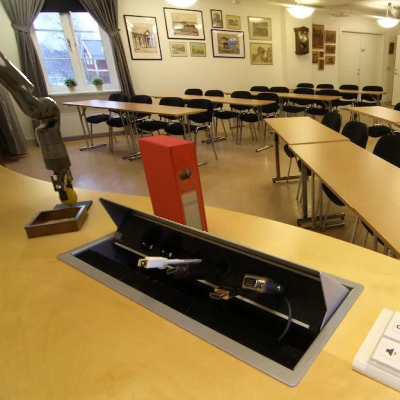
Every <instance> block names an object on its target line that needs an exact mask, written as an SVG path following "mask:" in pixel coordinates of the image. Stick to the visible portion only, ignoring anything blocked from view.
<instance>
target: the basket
mask: <svg viewBox="0 0 400 400" xmlns="http://www.w3.org/2000/svg"><path fill="white" fill-rule="evenodd" d="M88 216H89V212H88V211H87V209H86V205H84V206H76V207H68V208H60V209H53V208H52V209H45V210H39V211H38V212H36V214H35V215H34V216H33V217H32V218H31V219H30V220H29V222H27V223H26V224H25V226H24V227H23V229H24V230H25V233H26V235H27V238H28V239H31V238H37V237H38V238H39V237H45V236H51V235H57V234H64V233H72V232H79V231H80V230H81V228H82V226H83V225H84V223H85V221H86V220H87V218H88ZM70 217H73V219H71V218H70ZM86 217H87V218H86ZM65 218H66V219H68V220H66V219H65ZM57 220H59V221H57ZM50 221H52V222H50ZM53 221H55V222H53ZM45 222H47V223H45ZM78 230H79V231H78ZM71 231H72V232H71Z"/></svg>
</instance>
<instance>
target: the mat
mask: <svg viewBox="0 0 400 400" xmlns="http://www.w3.org/2000/svg"><path fill="white" fill-rule="evenodd" d="M92 204H93V200H92V199H90V200H83V201H82V200H81V201H77V202H76V203H75V204H74V205H73V206H72V207H76V206H84V205H86V209H87V212H88V211H89V209H90V208H91V206H92ZM68 207H70V206H66V205H64V204H62V203H58V204H55V205H54V207H53V208H52V209H60V208H68Z"/></svg>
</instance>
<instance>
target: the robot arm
mask: <svg viewBox="0 0 400 400" xmlns="http://www.w3.org/2000/svg"><path fill="white" fill-rule="evenodd" d="M0 86H1V87H2V88H3V89H4V90H5V91H6V92H8V93H9V95H10V96H11V98H12V100H13V102H15V104H16V106H17V107H18V109H19V110H20V112H21V113H22V114H23V115H24V116H26V117H27V118H28V119H31V120H33V121H40V124H39V126H37V127H36V128H35V131H34V133H35V136H36V140H37V143H38V145H39V151H40V152H39V153H40V155H41V158H42V160H43V163H44V168H45V169H46V170H47V171H52V172H53V174H52V175H50V180H51V183H52V187H53V190H54V192H55V193H58V197H59V196H60V199H61V201H67V200H68V196H67V192H66V187H67V188H71V189H73V190H74V186H73V181H74V178H73V174H72V170H71V166H72V162H71V159H70V156H69V153H68V149H67V146H66V144H65V141H64V138H63V135H62V132H61V126H62V125H61V110H60V108H59V105H58V103H56V101H55V100H53V98H50V97H35V96H34V95H33V94H32V93H33V92H34V89H35V87H34V85H33V84H32V83H31V82H30V81H29V79H27V77H26V76H25V75H24V74H23V73H22V72H21V71H20V70H19V69H18V68H17V67H16V66H15V65H14V64H13V63H12V62H11V61H10V60H9V59H8V57H6V56H5V54H3V52H2V51H1V50H0ZM74 191H75V190H74ZM60 199H59V200H60ZM61 201H60V202H61Z"/></svg>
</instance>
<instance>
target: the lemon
mask: <svg viewBox="0 0 400 400" xmlns="http://www.w3.org/2000/svg"><path fill="white" fill-rule="evenodd" d="M73 189H74V188H73ZM73 189H71V188H67V187H66V192H67V196H68V200H67V201H61V199H60V196H59V195H58V199H59V201H60V204H64V205H66V206H70V207H72V206H73V205H74V204H75V203H76V202H78V194H77V192H76V190H73Z"/></svg>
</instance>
